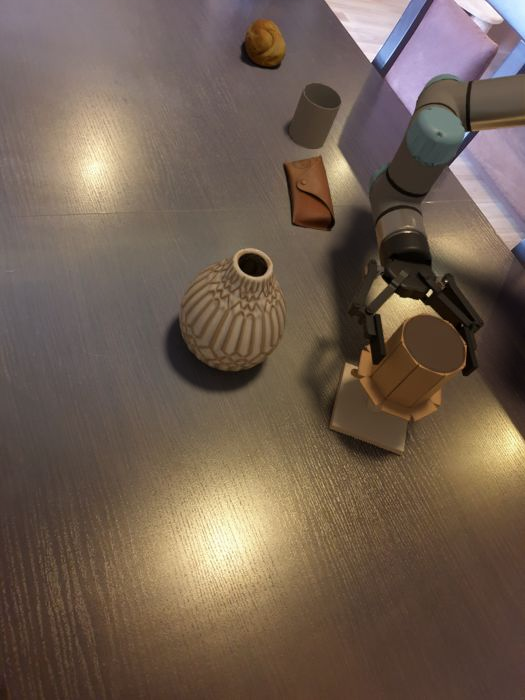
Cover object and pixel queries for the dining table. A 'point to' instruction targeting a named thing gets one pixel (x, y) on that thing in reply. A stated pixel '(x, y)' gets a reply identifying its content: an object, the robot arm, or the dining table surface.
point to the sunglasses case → (310, 194)
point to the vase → (234, 312)
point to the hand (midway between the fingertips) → (426, 366)
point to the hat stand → (365, 415)
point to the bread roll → (265, 43)
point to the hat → (413, 367)
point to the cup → (314, 115)
